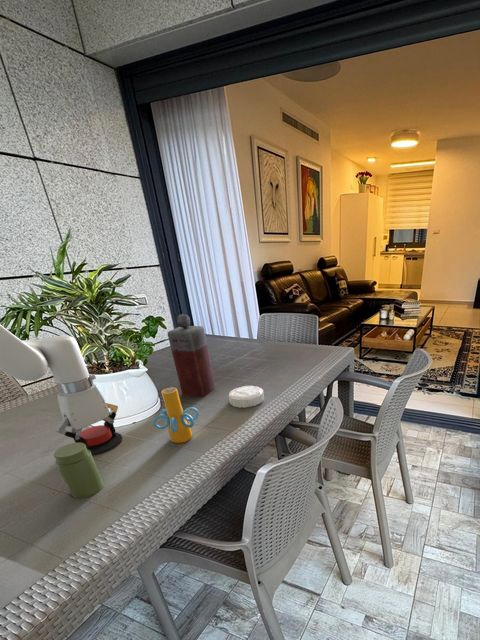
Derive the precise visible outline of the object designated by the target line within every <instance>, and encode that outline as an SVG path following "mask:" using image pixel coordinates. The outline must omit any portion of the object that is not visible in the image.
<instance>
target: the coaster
mask: <svg viewBox="0 0 480 640" xmlns="http://www.w3.org/2000/svg"><path fill="white" fill-rule="evenodd" d="M115 434H116V436H115V437H111V438H110V439H109V440H108V441H106V442H104V443H101V444H98V445H94V446H87V448H88V450H90V451H91V454H92V456H97V455H99V454H103V453H106V452H109V451H111V450H113V449H116V447H118V446H119V445H120V444H121V443H122V442H123V435H122V434H121V433H119V432H117V431H116V432H115Z"/></svg>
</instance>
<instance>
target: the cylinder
mask: <svg viewBox="0 0 480 640" xmlns="http://www.w3.org/2000/svg"><path fill="white" fill-rule="evenodd" d="M160 392H161V395H162V400H163V402H164V407H165V408H162V409H160V411H159V414H158V415H157V416H155V417H154V418H153V421H152V423H153V426H154V427H155V428H156V429H158V430H164V429H166V428H167V431H168V434H169V438H170V441H171V442H172V443H174V444H182V443H185V442H188V441H190V440H191V439H192V438H193V432H192V428H194V425H195V420H197V419H198V418H199V414H200V413H199V410H198V409H197V408H196V407H193V406H190V407H187V408H185V409H183V406H182V402H181V398H180V395H179V391H178V388H177V387H167V388H163V389H162V390H161V391H160ZM189 411H193V412H195V415H194V417H192V416H191V415H190V414H188V412H189ZM164 413H166V414H167V415H165V414H164ZM159 419H162V421H164V422H165V425H161V426H160V425H158V424H157V421H158V420H159Z"/></svg>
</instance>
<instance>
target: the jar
mask: <svg viewBox="0 0 480 640" xmlns="http://www.w3.org/2000/svg"><path fill="white" fill-rule="evenodd" d="M53 457H54V459H55V462H54V463H55V465H56V467H57V469H58V472H59V473H60V475H61V477H62V479H63V481H64V483H65V486H66V487H67V488H66V489H68V492H69V493H70V497H72V498H74V499H84V498H85V499H86V498H88V497H91V496H93V495H96V494H97V493H98V492H100V491H102V489H103V487H104V485H105V482H104V479H103V478H102V475H101V472H100V470H99V467H98V466H97V463H96V461H95V459H94V455H92V454H91V451H90V450H88V449H87V447H86V445H85V444H84V443H75V442H72V443H71V442H70V443H68V444H65V445H63V446H60V447H58V448H57V449H56V450H55V451H54V452H53Z"/></svg>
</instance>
